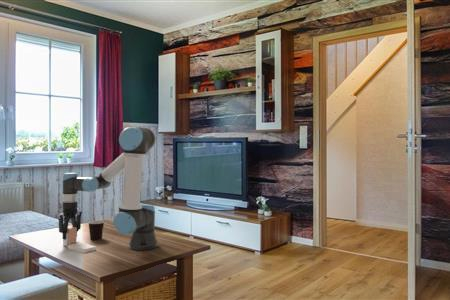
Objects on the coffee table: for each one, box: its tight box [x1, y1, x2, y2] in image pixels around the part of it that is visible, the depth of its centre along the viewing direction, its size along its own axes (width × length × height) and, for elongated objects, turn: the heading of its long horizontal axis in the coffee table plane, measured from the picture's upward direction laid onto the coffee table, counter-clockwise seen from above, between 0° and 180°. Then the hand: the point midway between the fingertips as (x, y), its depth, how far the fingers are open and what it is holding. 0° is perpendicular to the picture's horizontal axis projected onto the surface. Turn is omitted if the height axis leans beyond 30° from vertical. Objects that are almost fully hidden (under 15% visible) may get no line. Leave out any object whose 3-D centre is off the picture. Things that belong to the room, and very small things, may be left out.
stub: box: [62, 225, 78, 248], centre depth 200 cm, size 6×4×10 cm, turn 56°
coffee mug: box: [88, 220, 105, 241], centre depth 217 cm, size 12×9×10 cm
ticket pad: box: [67, 241, 97, 254], centre depth 195 cm, size 14×7×2 cm, turn 56°
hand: (69, 244), depth 201 cm, fingers closed on stub, 4 cm apart
